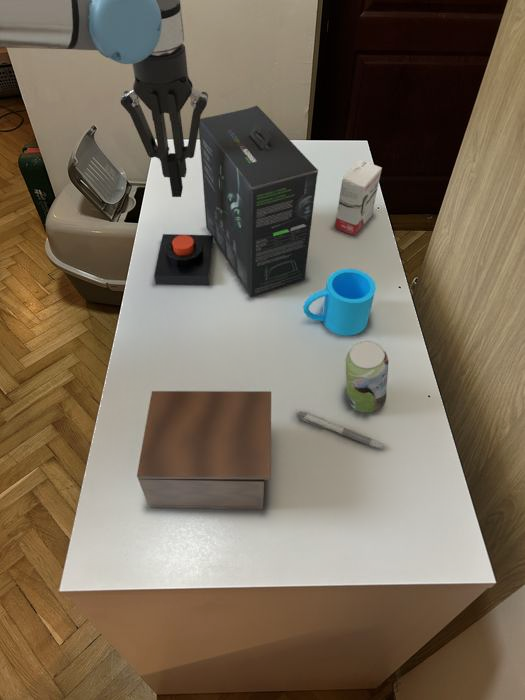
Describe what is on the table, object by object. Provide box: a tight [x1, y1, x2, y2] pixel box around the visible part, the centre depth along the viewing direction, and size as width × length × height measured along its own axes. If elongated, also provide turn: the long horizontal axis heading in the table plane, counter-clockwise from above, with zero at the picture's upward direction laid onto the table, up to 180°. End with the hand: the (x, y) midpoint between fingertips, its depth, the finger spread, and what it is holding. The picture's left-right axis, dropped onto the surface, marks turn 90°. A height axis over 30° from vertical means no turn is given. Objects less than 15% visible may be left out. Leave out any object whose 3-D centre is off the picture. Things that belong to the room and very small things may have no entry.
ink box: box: [334, 159, 383, 236], centre depth 108 cm, size 9×5×12 cm, turn 147°
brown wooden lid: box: [136, 390, 272, 481], centre depth 69 cm, size 16×13×1 cm
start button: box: [172, 234, 194, 255], centre depth 100 cm, size 4×4×2 cm
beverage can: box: [345, 340, 389, 413], centre depth 79 cm, size 6×7×12 cm
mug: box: [302, 268, 377, 337], centre depth 91 cm, size 12×8×8 cm
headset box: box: [198, 105, 319, 298], centre depth 95 cm, size 22×12×26 cm, turn 26°
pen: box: [295, 410, 385, 449], centre depth 80 cm, size 1×14×1 cm, turn 65°
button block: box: [153, 233, 215, 286], centre depth 102 cm, size 10×12×4 cm
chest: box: [137, 478, 265, 511], centre depth 73 cm, size 16×13×9 cm
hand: (177, 192), depth 91 cm, fingers closed
